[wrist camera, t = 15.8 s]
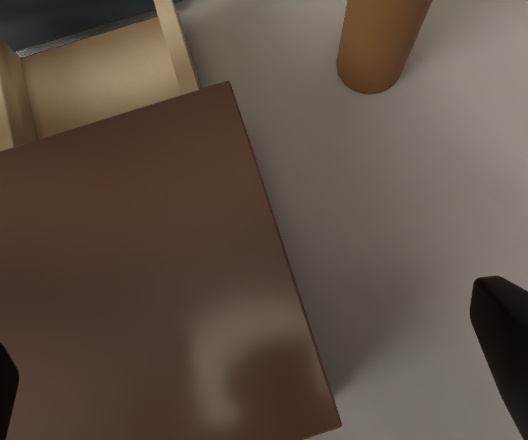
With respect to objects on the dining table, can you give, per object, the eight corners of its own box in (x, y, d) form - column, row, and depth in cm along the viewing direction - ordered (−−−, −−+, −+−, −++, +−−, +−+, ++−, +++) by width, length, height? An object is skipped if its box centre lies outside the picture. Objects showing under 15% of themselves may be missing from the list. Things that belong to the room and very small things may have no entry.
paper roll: (415, 63, 25) (484, -83, 16) (371, 106, 24) (417, -19, 16) (366, 24, 26) (406, -136, 17) (323, 66, 25) (341, -76, 16)
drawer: (-17, -27, 27) (-66, -85, 23) (162, -81, 27) (141, -147, 23) (41, 257, 23) (-8, 243, 19) (248, 191, 23) (240, 165, 19)
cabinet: (26, 202, 24) (-50, 165, 19) (242, 134, 24) (229, 79, 19) (82, 482, 21) (10, 535, 16) (329, 402, 21) (342, 427, 16)
